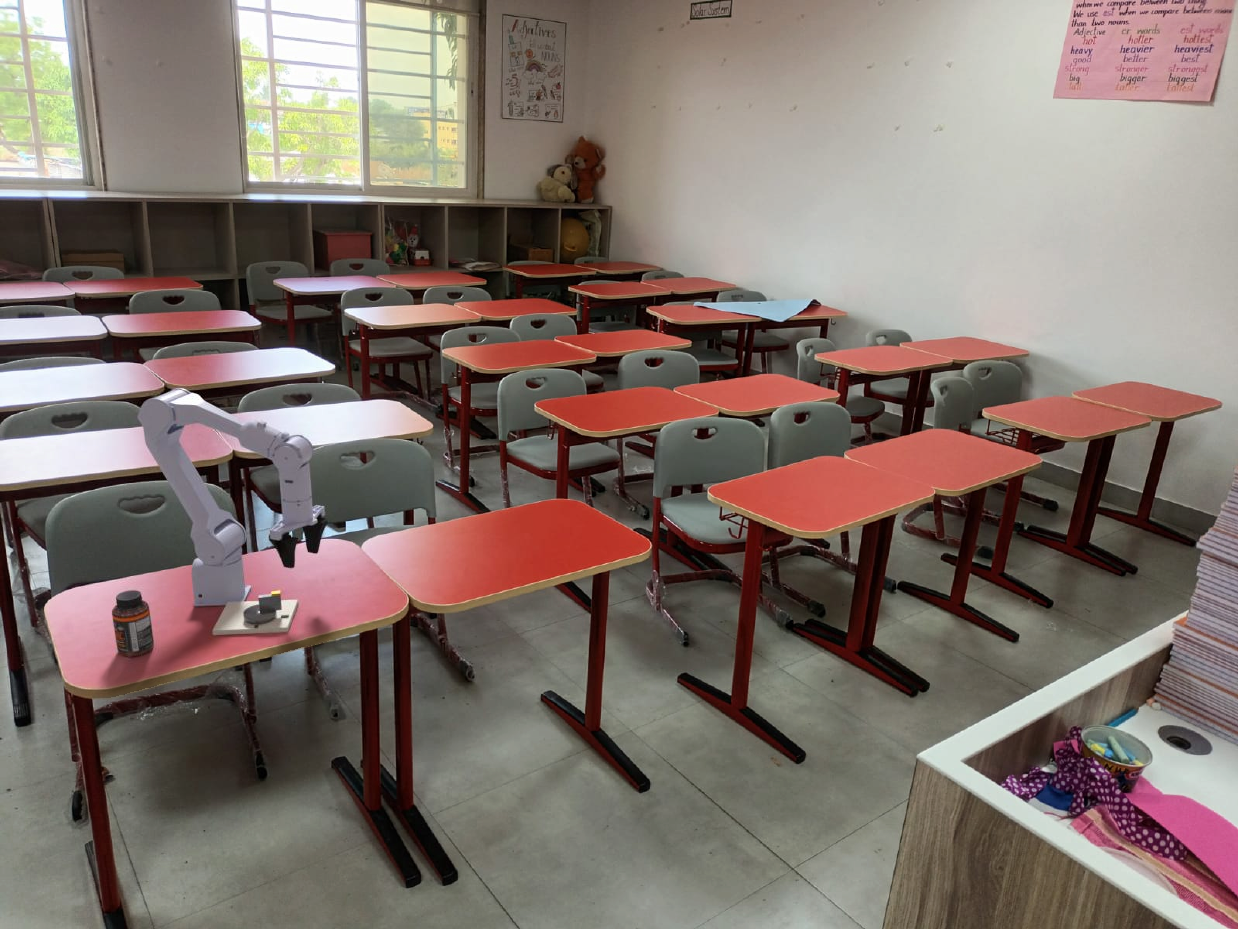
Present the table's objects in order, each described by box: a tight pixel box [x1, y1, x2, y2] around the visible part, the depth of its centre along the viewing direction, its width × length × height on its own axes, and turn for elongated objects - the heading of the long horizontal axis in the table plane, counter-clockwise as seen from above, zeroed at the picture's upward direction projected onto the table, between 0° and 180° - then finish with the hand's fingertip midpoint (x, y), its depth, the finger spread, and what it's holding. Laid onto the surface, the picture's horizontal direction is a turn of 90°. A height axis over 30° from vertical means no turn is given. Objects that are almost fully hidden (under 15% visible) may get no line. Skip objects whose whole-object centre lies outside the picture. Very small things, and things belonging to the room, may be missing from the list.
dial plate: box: [212, 599, 299, 636], centre depth 172 cm, size 14×12×1 cm
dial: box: [243, 590, 282, 624], centre depth 170 cm, size 7×6×5 cm
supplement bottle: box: [111, 589, 155, 658], centre depth 157 cm, size 6×6×11 cm
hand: (301, 559), depth 176 cm, fingers open, 7 cm apart
